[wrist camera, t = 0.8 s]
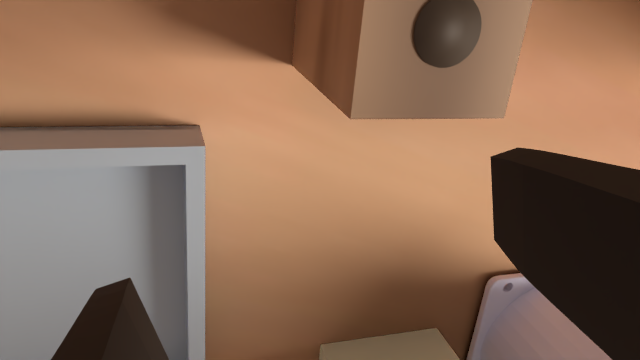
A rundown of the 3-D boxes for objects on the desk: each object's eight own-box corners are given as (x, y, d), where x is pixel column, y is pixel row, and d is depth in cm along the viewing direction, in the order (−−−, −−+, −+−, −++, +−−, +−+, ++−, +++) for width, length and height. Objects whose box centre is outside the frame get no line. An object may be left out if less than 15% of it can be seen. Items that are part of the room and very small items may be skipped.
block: (429, -65, 18) (549, -62, 12) (408, 67, 20) (505, 119, 14) (301, -79, 16) (375, -83, 11) (291, 65, 18) (351, 120, 13)
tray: (199, 125, 18) (205, 146, 16) (200, 372, 23) (204, 409, 21) (-210, 128, 15) (-256, 155, 13) (-112, 418, 19) (-137, 467, 18)
